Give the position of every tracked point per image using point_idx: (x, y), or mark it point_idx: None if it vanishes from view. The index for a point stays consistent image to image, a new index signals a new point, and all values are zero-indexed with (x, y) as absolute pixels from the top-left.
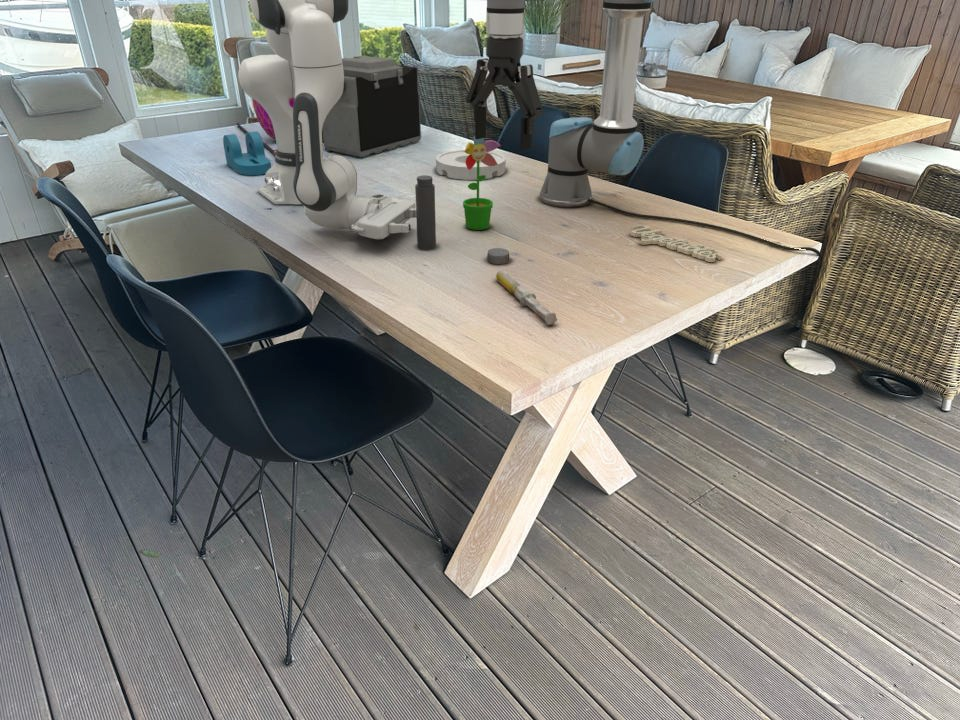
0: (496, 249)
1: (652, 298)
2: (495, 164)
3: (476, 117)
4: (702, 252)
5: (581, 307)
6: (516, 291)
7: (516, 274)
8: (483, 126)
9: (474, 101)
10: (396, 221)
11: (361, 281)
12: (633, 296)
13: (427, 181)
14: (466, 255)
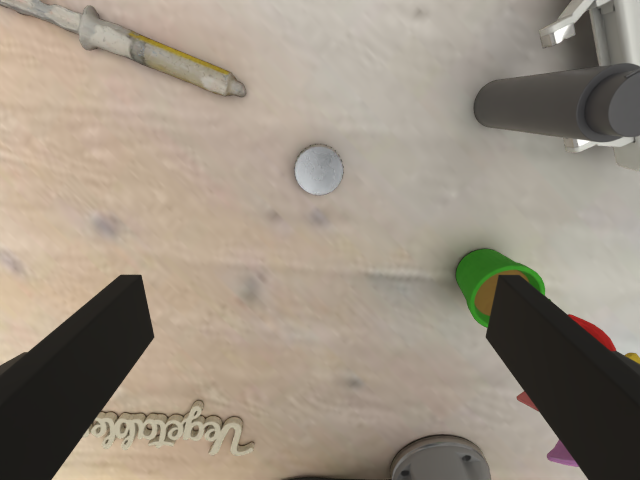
0: (331, 178)
1: (10, 243)
2: (521, 394)
3: (608, 364)
4: (101, 426)
5: (37, 114)
6: (125, 31)
7: (239, 141)
8: (526, 364)
9: None
10: (617, 57)
11: None
12: (32, 226)
13: (607, 92)
14: (388, 137)
